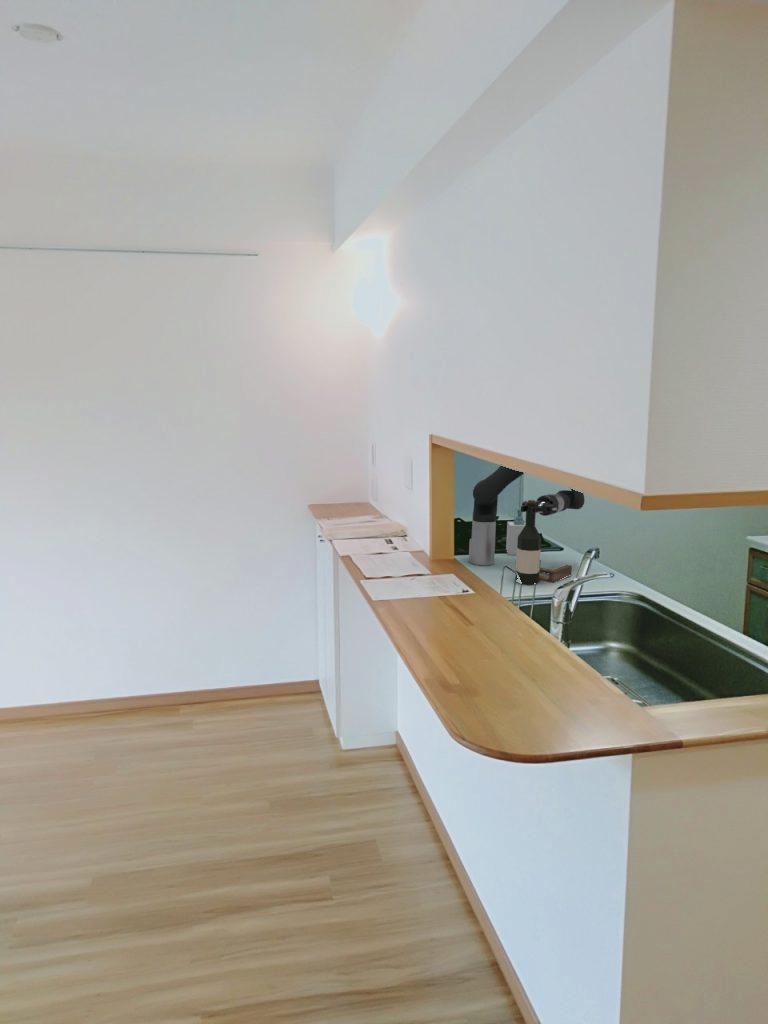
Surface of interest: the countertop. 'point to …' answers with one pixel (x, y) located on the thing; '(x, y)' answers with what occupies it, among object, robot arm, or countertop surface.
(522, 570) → the wine bottle
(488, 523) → the robot arm
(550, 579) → the cradle
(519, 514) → the soap bottle
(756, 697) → the countertop surface
